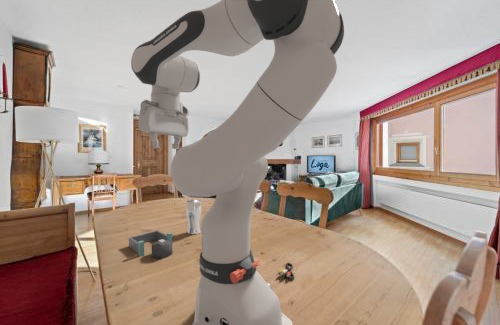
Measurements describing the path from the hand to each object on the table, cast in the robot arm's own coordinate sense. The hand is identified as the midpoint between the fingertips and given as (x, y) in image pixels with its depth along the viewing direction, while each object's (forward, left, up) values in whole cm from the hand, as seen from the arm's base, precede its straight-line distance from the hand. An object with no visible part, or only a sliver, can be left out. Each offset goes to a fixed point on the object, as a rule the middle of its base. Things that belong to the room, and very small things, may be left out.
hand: (166, 148), depth 70 cm
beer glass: (+19, -22, -39) cm, 49 cm away
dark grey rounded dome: (+9, -2, -39) cm, 40 cm away
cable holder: (+20, -2, -39) cm, 44 cm away
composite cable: (-33, -23, -39) cm, 56 cm away
